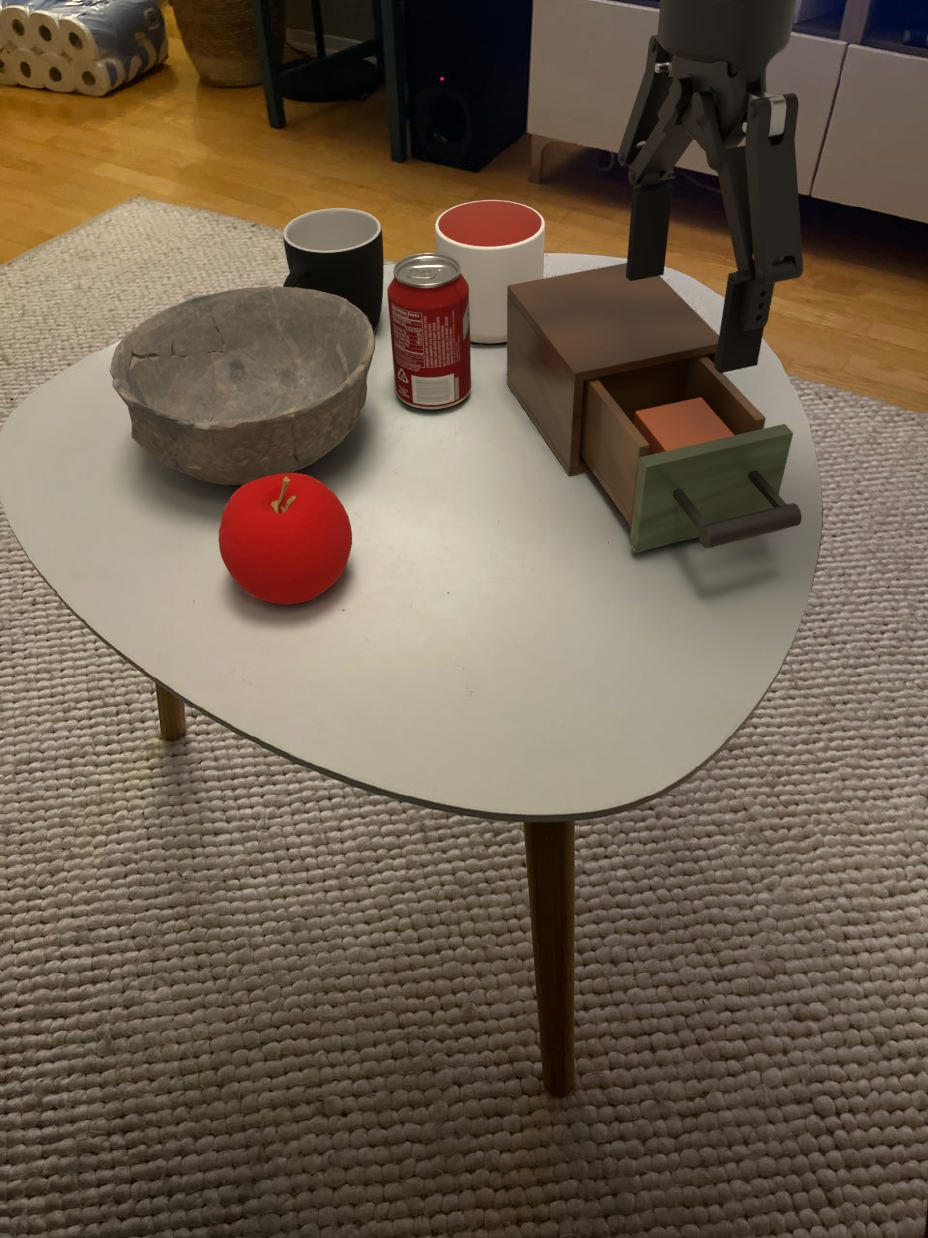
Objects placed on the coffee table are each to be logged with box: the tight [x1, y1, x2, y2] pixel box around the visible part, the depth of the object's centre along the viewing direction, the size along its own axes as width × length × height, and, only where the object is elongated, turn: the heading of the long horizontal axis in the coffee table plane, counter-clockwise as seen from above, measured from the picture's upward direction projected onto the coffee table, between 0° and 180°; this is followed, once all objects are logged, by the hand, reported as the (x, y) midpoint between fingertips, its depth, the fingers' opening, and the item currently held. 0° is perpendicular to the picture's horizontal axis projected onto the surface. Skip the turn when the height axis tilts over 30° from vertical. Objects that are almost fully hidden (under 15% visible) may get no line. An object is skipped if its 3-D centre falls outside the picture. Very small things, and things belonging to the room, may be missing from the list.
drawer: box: [579, 355, 803, 553], centre depth 79 cm, size 19×11×8 cm, turn 19°
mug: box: [282, 207, 385, 333], centre depth 99 cm, size 12×9×10 cm
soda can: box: [386, 252, 472, 411], centre depth 91 cm, size 7×7×12 cm
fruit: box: [218, 472, 353, 605], centre depth 75 cm, size 9×9×10 cm
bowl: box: [109, 285, 376, 486], centre depth 86 cm, size 21×21×10 cm
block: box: [634, 397, 734, 455], centre depth 80 cm, size 6×6×6 cm
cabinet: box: [506, 262, 719, 477], centre depth 89 cm, size 15×13×10 cm
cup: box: [434, 199, 546, 344], centre depth 100 cm, size 10×10×10 cm
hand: (687, 318), depth 74 cm, fingers open, 13 cm apart
